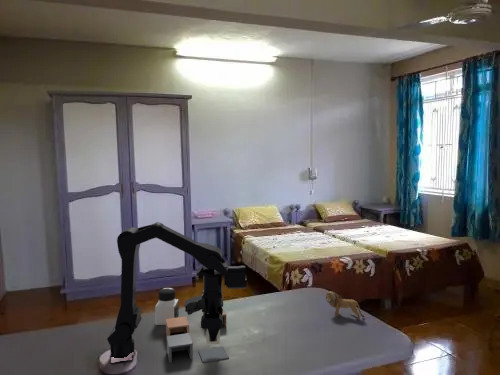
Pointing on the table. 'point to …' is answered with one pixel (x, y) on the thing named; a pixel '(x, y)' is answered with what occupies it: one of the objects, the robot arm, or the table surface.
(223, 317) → the box
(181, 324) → the terracotta block
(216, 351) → the slate pad
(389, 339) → the table surface
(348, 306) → the lion figurine
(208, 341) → the cream cube
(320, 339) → the table surface
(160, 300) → the medicine bottle
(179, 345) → the grey box
